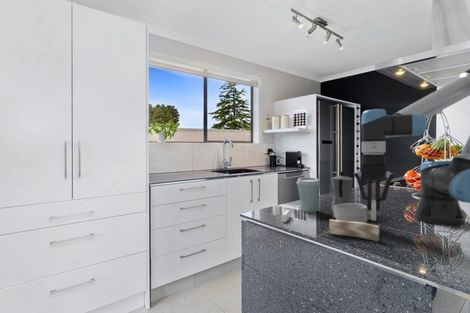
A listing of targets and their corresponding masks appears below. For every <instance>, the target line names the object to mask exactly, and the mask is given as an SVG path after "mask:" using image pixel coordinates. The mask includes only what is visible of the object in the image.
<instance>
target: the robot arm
mask: <svg viewBox="0 0 470 313" xmlns="http://www.w3.org/2000/svg"><path fill="white" fill-rule="evenodd" d="M469 96H470V68H469V69H467V70H465V71H464V72H462V73H460V74H459V75H458V76H457V78H456V79H455V80H453V81H451V82H449V83H448V84H446V85H443V86H442V87H440V88H439V89H437V90H435V91H432V92H431V93H428V95H425V96H424V97H422V98H420V99H418V100H416V101H415V102H413V103H411V104H409V105H408V106H406V107H404V108H402V109H400V110H398V111H397V112H395V113H394V114H387V111H386V109H384V108H374V109H367V110H364V111H363V112H362V114H361V123H360V125H361V126H360V127H361V153H362V155H361V166H360V168H359V170H358V171H356V172H354V173H353V176H354V178H355V179H356V180H357V184H358V188H359V192H360V196H361V198H362V200H365V201H367V205H366V206H367V208H368V210H371V221H377V212H379V211H380V206H381V204H380V203H381V202H382V201H386V199H387V195H388V192H389V191H390V190H389V189H390V186H391V182H392V180H393V179H394V178H395V174H394V173H393V172H390V171H389V170H388V168H387V166H386V165H387V161H386V160H387V158H386V157H387V155H386V152H387V150H386V149H387V148H386V146H387V143H386V141H387V139H388V138H396V137H397V138H398V137H414V136H415V137H416V136H418V137H419V136H422V135H423V134H425V132H426V129H427V124H428V123H427V119H428V118H431V116H434V115H436V114H438V113H439V112H442V111H443V110H445V109H447V108H449V107H450V106H453V105H455V104H457V103H459V102H460V101H462V100H464V99H466V98H468V97H469ZM386 138H387V139H386ZM419 173H420V186H419V187H420V192H419V193H420V197H419V201H418V204H417V206H416V207H415V208H416V209H415V210H414V218H415V219H417V220H419V221H421V222H425V223H428V224H433V225H440V226H449V227H450V226H452V227H453V226H455V227H456V226H463V225H465V215H464V212H463V211H462V207H461V205H460V202H461V203H467V204H470V135H469V136H468V139H467V140H466V142H465V145H464V146H463V149H462V150H461V153H460V154H457V155H454V156H453V157H452V159H451V160H436V161H433V160H432V161H425V162H422V163H421V165H420V170H419ZM362 175H363V176H364V178H365V179H366V182H367V185H366V186H367V187H366V190H367V192H366V193H367V194H366V193H365V189H364V186H363V183H362V182H363V181H362V179H361V177H362ZM384 176H385V178H386V179H385V182H384V186H383V189H382V192H381V180H382V178H383V177H384ZM372 181H374V183H375V184H374V185H375V186H374V187H375V188H374V192H375V193H374V195H375V197H374V200H373V199H372V196H373V194H372V192H373V191H372V190H373V189H372V188H373V187H372V184H373V182H372ZM380 193H381V194H380Z"/></svg>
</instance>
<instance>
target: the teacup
mask: <svg viewBox="0 0 470 313" xmlns="http://www.w3.org/2000/svg"><path fill="white" fill-rule="evenodd" d="M335 213H336V218H335V220H342V221H353V222H362V223H367V222H368V220H367V205H365V204H364V203H353V202H352V203H344V204H337V205H335Z"/></svg>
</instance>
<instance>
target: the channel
mask: <svg viewBox="0 0 470 313" xmlns="http://www.w3.org/2000/svg"><path fill="white" fill-rule="evenodd" d="M332 218H335V219H331V218H330V219H329V222H328V223H329V224H328V228H329V229H328V230H329V234H330V235H339V236H347V237H354V238H355V237H356V238H361V239H366V240H371V241H375V242H379V240H380V225H376V224H372V223H367V222H366V223H362V222H353V221H342V220H336V213H335V206H333V211H332ZM370 220H371V210H368V208H367V221H370ZM371 221H372V220H371Z"/></svg>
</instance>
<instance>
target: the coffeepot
mask: <svg viewBox="0 0 470 313" xmlns="http://www.w3.org/2000/svg"><path fill="white" fill-rule="evenodd" d="M339 174H340V175H338V176H334V177H332V176H331V177H330V181H331V187H332V192H333V197H332V203H331V208H330V209H331V211H332V212H333V206H335V205H337V204H344V203H353V201H352V197H351V194H352V188H353V183H354V178H353V177H349V176H345V175H344V171H339Z"/></svg>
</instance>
